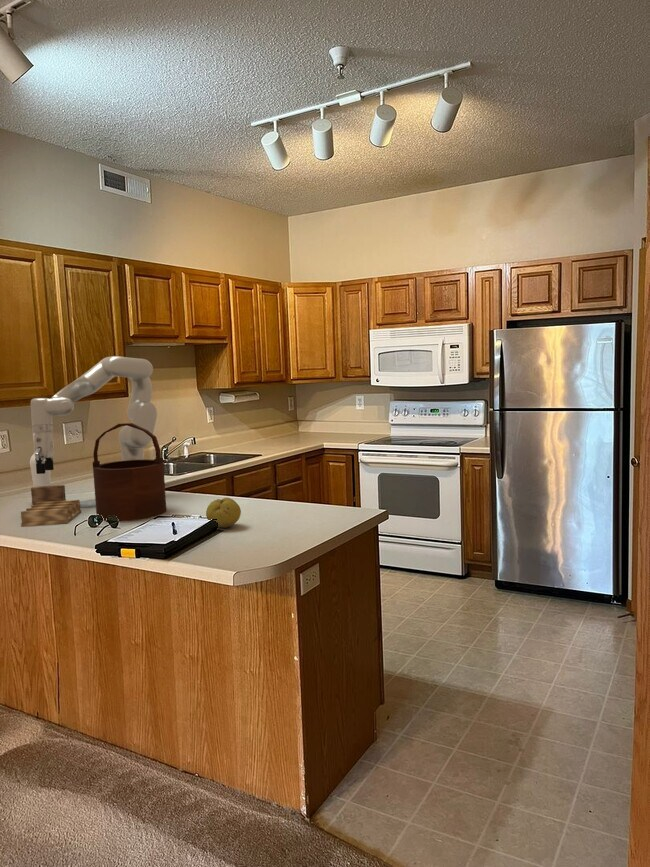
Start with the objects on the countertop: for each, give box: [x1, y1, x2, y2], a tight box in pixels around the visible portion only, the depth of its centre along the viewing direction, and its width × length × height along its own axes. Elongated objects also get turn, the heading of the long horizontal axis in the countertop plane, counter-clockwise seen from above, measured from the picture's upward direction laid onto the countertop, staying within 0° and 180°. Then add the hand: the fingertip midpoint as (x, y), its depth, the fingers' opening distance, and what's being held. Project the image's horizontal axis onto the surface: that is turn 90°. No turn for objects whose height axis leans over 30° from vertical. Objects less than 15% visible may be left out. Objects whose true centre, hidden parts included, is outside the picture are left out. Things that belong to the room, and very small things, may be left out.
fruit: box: [205, 497, 242, 529], centre depth 209 cm, size 11×12×10 cm
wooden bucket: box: [92, 422, 167, 522], centre depth 235 cm, size 26×26×35 cm
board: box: [30, 484, 67, 506], centre depth 246 cm, size 12×3×10 cm, turn 96°
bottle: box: [29, 433, 52, 487], centre depth 263 cm, size 8×8×30 cm
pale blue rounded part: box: [80, 498, 96, 509], centre depth 256 cm, size 12×12×1 cm
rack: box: [20, 499, 82, 527], centre depth 231 cm, size 16×18×5 cm
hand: (45, 471), depth 245 cm, fingers open, 9 cm apart
